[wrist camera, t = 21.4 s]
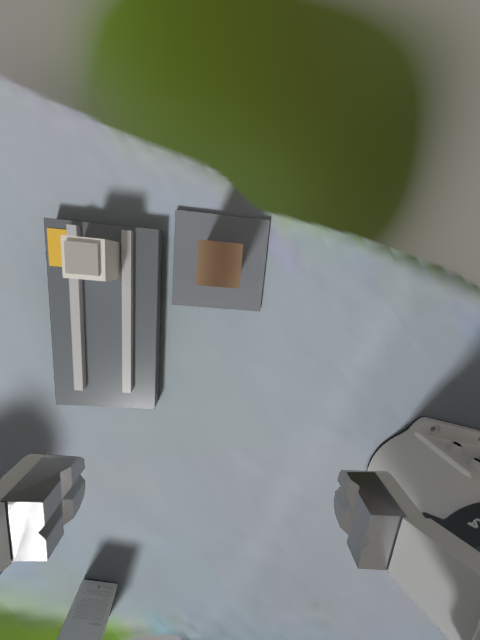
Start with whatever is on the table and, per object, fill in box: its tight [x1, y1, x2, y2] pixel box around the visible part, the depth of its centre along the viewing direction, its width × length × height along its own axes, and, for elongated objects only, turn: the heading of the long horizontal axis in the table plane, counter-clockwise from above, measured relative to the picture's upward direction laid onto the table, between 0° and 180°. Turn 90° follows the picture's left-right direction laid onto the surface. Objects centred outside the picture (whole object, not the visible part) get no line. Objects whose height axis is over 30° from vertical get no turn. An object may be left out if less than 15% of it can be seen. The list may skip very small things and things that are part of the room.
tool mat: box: [172, 210, 270, 311], centre depth 31 cm, size 11×11×1 cm
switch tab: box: [60, 235, 121, 281], centre depth 26 cm, size 4×4×4 cm
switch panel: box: [44, 218, 163, 409], centre depth 31 cm, size 12×22×3 cm, turn 175°
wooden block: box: [196, 239, 243, 289], centre depth 27 cm, size 4×4×8 cm
